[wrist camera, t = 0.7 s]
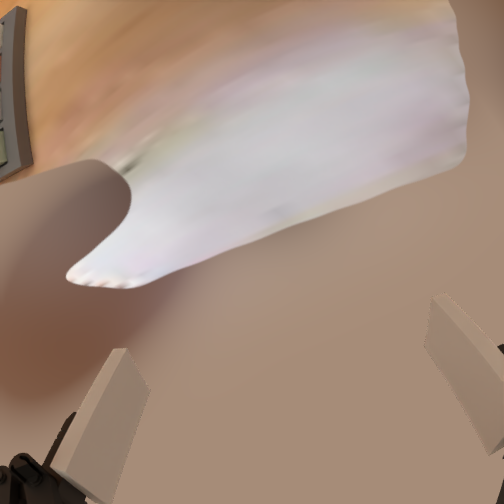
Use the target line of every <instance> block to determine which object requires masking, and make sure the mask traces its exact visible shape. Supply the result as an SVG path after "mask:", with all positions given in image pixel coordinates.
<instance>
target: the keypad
mask: <svg viewBox="0 0 504 504" xmlns="http://www.w3.org/2000/svg"><path fill="white" fill-rule="evenodd" d="M26 14H27V10H26V9H24V8H21V7H19V6H16V7H15V8H13V9H12V10H11V11H10V12H8V13H7V14H6V15H5V16H4V17H2V18H1V19H0V24H2V25H4V30H3V41H2V48H1V49H0V56H1V82H0V92H1V103H2V118H3V120H2V121H0V131H4V139H5V146H6V153H7V160H8V161H7V162H5V163H4V164H2V165H1V166H0V182H1V181H3V180H4V179H6V178H8V177H10V176H11V175H13V174H15V173H17V172H19V171H21V170H22V169H24V168H26V167H28V166H30V165H32V164H33V158H32V152H31V146H30V139H29V132H28V124H27V114H26V102H25V86H24V41H25V25H26Z"/></svg>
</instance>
